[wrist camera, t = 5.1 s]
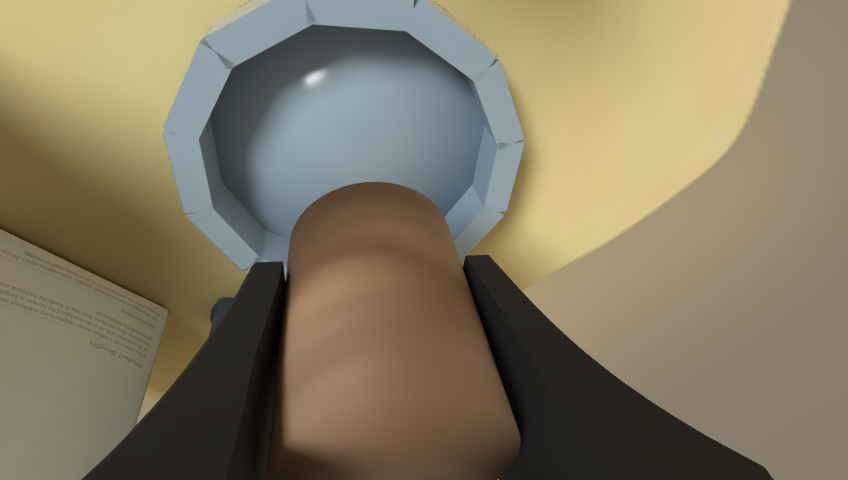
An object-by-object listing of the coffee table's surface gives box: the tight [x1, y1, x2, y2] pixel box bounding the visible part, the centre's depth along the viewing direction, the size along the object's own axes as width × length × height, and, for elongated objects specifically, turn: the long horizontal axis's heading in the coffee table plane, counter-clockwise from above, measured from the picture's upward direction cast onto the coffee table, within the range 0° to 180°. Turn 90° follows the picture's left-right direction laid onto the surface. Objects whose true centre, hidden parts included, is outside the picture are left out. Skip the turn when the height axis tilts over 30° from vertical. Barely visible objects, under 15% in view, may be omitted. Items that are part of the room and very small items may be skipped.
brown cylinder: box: [266, 182, 521, 480], centre depth 10 cm, size 4×4×6 cm
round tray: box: [163, 0, 525, 281], centre depth 17 cm, size 12×12×2 cm
